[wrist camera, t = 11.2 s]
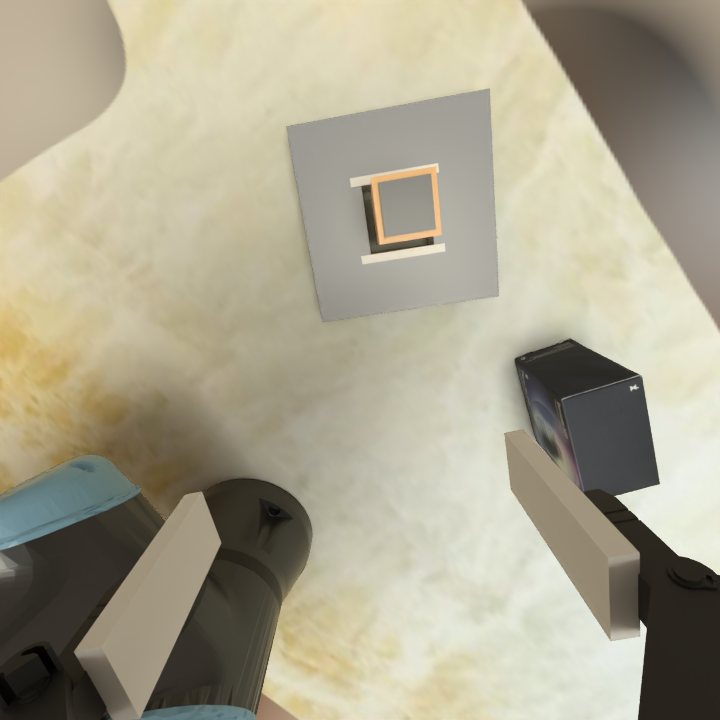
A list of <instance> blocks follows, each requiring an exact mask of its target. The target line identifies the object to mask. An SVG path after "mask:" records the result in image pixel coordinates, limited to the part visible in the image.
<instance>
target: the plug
mask: <svg viewBox="0 0 720 720" xmlns="http://www.w3.org/2000/svg"><path fill="white" fill-rule="evenodd" d="M371 204H372V212H373V219H374V227H375V234H376V242H377V245H382V244H388V243H394V242H401V241H407V240H413V239H419V238H426V237H432V236H438V235H442V231H441V220H440V208H439V196H438V184H437V172H436V166H435V167H429V168H423V169H418V170H412V171H406V172H400V173H395V174H389V175H383V176H377V177H371Z"/></svg>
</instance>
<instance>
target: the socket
mask: <svg viewBox="0 0 720 720" xmlns="http://www.w3.org/2000/svg"><path fill="white" fill-rule="evenodd" d="M286 128H287V133H288V139H289V144H290V149H291V155H292V160H293V166H294V171H295V176H296V182H297V187H298V193H299V198H300V203H301V209H302V214H303V219H304V225H305V230H306V236H307V241H308V246H309V252H310V257H311V263H312V268H313V273H314V279H315V284H316V289H317V295H318V300H319V306H320V311H321V316H322V322H327V321H334V320H341V319H348V318H354V317H361V316H368V315H375V314H382V313H388V312H395V311H402V310H409V309H416V308H422V307H429V306H436V305H443V304H449V303H456V302H463V301H470V300H477V299H483V298H490V297H497V296H499V287H498V264H497V242H496V220H495V197H494V175H493V153H492V130H491V108H490V89H484V90H479V91H474V92H468V93H463V94H458V95H452V96H447V97H442V98H436V99H431V100H425V101H420V102H415V103H409V104H404V105H399V106H393V107H388V108H383V109H377V110H372V111H366V112H361V113H356V114H350V115H345V116H340V117H334V118H329V119H324V120H318V121H313V122H307V123H302V124H297V125H291V126H286ZM435 166H436V172H437V184H438V196H439V208H440V220H441V231H442V235H438V236H432V237H428V245H422V246H416V247H410V248H403V249H397V250H391V251H384V252H378V253H372V254H371V251H370V244H369V237H368V230H367V223H366V215H365V208H364V201H363V194H362V192H365V191H371V177H377V176H383V175H389V174H395V173H400V172H406V171H412V170H418V169H423V168H429V167H435Z"/></svg>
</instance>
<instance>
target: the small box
mask: <svg viewBox="0 0 720 720" xmlns="http://www.w3.org/2000/svg"><path fill="white" fill-rule="evenodd" d="M515 362H516V366H517V370H518V374H519V377H520V381H521V385H522V389H523V392H524V396H525V400H526V404H527V408H528V412H529V415H530V419H531V423H532V426H533V430H534V434H535V438H536V441H537V442H538V444H539V445H540V446H541V447H542V449H543V450H544V451H545V452H546V453H547V455H548V456H549V457H550V458H551V460H552V461H553V462H554V463H555V464H556V465H557V466H558V467H559V468H560V469H561V470H562V471H563V472H564V473H565V475H566V476H567V477H568V478H569V479H570V480H571V481H572V482H573V483H574V484H575V485H576V486H577V487H578V488H579V489H580V490H581V491H582V492H583V491H589V490H594V489H601V490H603V491H605V492H607V493H609V494H610V495H612V496H616V495H620V494H624V493H628V492H632V491H635V490H639V489H643V488H646V487H650V486H654V485H658V484H660V482H659V476H658V469H657V464H656V458H655V452H654V445H653V439H652V433H651V427H650V421H649V415H648V410H647V403H646V397H645V391H644V386H643V380H642V376H641V375H639V374H638V373H635V372H633V371H631V370H629V369H627V368H625V367H623V366H621V365H619V364H617V363H616V362H613V361H612V360H610V359H608V358H606V357H604V356H602V355H600V354H598V353H596V352H594V351H592V350H590V349H588V348H586V347H584V346H583V345H581V344H579V343H578V342H576V341H574V340H572V339H571V340H567V341H565V342H563V343H561V344H557V345H555V346H551V347H548V348H545V349H542V350H539V351H536V352H531V353H529V354H526V355H524V356H522V357H519V358H516V359H515Z"/></svg>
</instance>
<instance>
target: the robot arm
mask: <svg viewBox="0 0 720 720" xmlns="http://www.w3.org/2000/svg"><path fill="white" fill-rule="evenodd" d="M505 442H506V451H507V460H508V469H509V477H510V486H511V490H512V492H513V493H514V495H515V496H516V498H517V499H518V501H519V502H520V504H521V505H522V507H523V508H524V510H525V511H526V513H527V515H528V516H529V518H530V519H531V521H532V522H533V524H534V525H535V527H536V528H537V530H538V531H539V533H540V534H541V536H542V537H543V539H544V540H545V542H546V543H547V545H548V546H549V548H550V549H551V551H552V553H553V554H554V556H555V557H556V559H557V560H558V562H559V563H560V565H561V566H562V568H563V569H564V571H565V572H566V574H567V575H568V577H569V578H570V580H571V581H572V583H573V584H574V586H575V587H576V589H577V591H578V592H579V594H580V595H581V597H582V598H583V600H584V601H585V603H586V604H587V606H588V607H589V609H590V610H591V612H592V613H593V615H594V616H595V618H596V619H597V621H598V622H599V624H600V625H601V627H602V629H603V630H604V632H605V633H606V635H607V636H608V638H609V639H610V641H615V640H621V639H627V638H633V637H639V636H640V620H641V621H642V623H643V624H644V625H645V626H646V628H647V633H646V643H645V654H644V664H643V674H642V684H641V694H640V704H639V714H638V720H720V575H717V574H716V573H715V572H714V571H713V570H711V569H710V568H708V567H707V566H705V565H703V564H702V563H700V562H697V561H695V560H692V559H689V558H686V557H680V556H678V555H677V554H676V553H675V552H674V551H673V550H671V549H670V548H669V547H668V546H667V545H666V544H665V543H664V542H663V541H662V540H661V539H660V538H659V537H658V536H657V535H655V534H654V533H653V532H652V531H651V530H650V529H649V528H648V527H647V526H646V525H645V524H644V523H643V522H642V521H641V520H638V518H637V517H636V516H635V515H634V514H633V513H632V512H631V511H629V510H628V508H627V507H626V506H625V505H623V504H622V503H621V502H620V501H619V500H618V499H617V498H616V497H614V496H612V495H610V494H609V493H607V492H605V491H603V490H601V489H594V490H589V491H583V492H582V491H581V490H580V489H579V488H578V487H577V486H576V485H575V484H574V483H573V482H572V481H571V480H570V479H569V478H568V477H567V476H566V475H565V473H564V472H563V471H562V470H561V469H560V468H559V467H558V466H557V465H556V464H555V463H554V462H553V461H552V460H551V459H550V458H549V457H548V456H547V455H546V453H545V452H544V451H543V450H542V449H541V448H540V447H539V446H538V445H537V444H536V443H535V442H534V441H533V440H532V439H531V438H530V437H529V436H528V434H527V433H526V432H525V431H524V430H518V431H513V432H508V433H505ZM140 492H141V488H140V487H139V486H138V485H133V484H132V483H131V482H130V481H129V480H128V479H127V478H126V477H125V476H124V475H123V474H122V473H121V472H120V471H119V470H118V469H117V468H116V467H115V466H114V465H113V464H112V463H111V462H110V461H109V460H108V459H106V458H104V457H102V456H98V455H82V456H78V457H75V458H72V459H70V460H68V461H66V462H63V463H61V464H59V465H57V466H55V467H53V468H51V469H49V470H47V471H45V472H43V473H41V474H39V475H37V476H35V477H33V478H31V479H29V480H27V481H25V482H23V483H21V484H19V485H17V486H15V487H13V488H11V489H10V490H8V491H6V492H4V493H2V494H0V720H255V719H256V713H257V709H258V705H259V700H260V696H261V692H262V687H263V683H264V678H265V674H266V670H267V665H268V661H269V657H270V652H271V648H272V643H273V639H274V635H275V630H276V626H277V622H278V617H279V613H280V609H281V605H282V602H283V601H284V599H285V597H286V596H287V594H288V593H289V591H290V590H291V588H292V587H293V585H294V583H295V582H296V580H297V578H298V577H299V575H300V574H301V573H302V571H303V569H304V568H305V566H306V563H307V560H308V557H309V553H310V548H311V543H312V528H311V524H310V521H309V518H308V516H307V514H306V512H305V510H304V509H303V507H302V506H301V505H300V504H299V503H298V501H297V500H296V499H294V498H293V497H292V496H291V495H290V494H288V493H287V492H286V491H284V490H282V489H280V488H279V487H277V486H274V485H272V484H269V483H266V482H262V481H258V480H251V479H237V480H230V481H226V482H223V483H220V484H217V485H215V486H213V487H211V488H210V489H208V490H207V491H206V492H204V493H202V491H201V492H196V493H191V494H186V495H184V497H183V498H182V499H181V501H180V502H179V504H178V505H177V507H176V508H175V509H174V511H173V512H172V514H171V515H170V516H169V518H168V519H167V521H166V522H165V521H164V520H163V519H162V517H161V516H160V515H159V514H158V513H157V512H156V510H155V509H154V508H153V507H152V506H151V505H150V504H149V502H148V501H147V500H146V499H145V498H144V497H143V495H142V494H141V493H140Z"/></svg>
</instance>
